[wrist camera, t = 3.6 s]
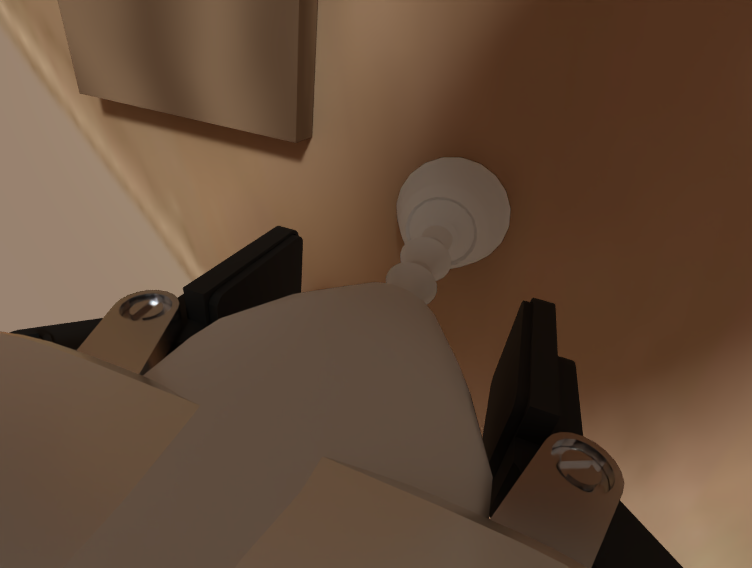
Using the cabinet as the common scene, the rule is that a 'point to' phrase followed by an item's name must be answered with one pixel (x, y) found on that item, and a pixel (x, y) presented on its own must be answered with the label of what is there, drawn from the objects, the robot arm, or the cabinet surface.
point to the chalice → (318, 394)
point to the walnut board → (200, 59)
